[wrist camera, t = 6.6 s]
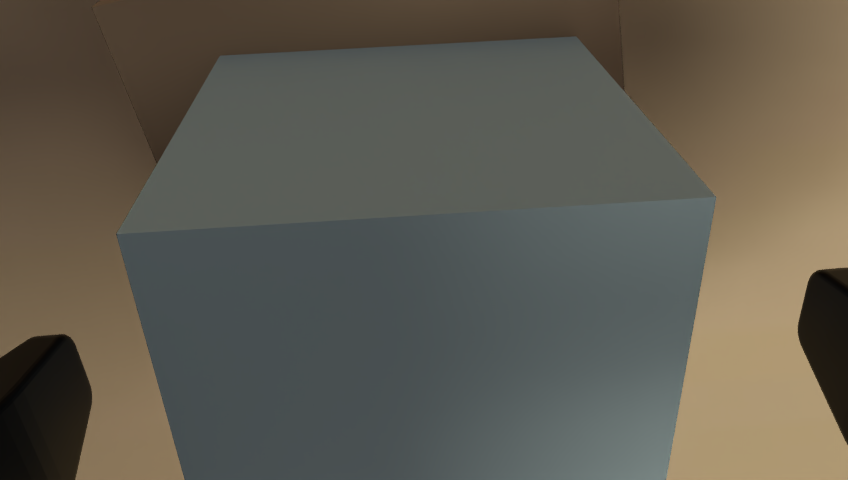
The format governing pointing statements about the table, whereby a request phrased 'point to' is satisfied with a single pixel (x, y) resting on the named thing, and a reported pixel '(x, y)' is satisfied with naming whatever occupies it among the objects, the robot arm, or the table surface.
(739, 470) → the table surface
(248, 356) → the cube
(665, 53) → the table surface
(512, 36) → the base block
